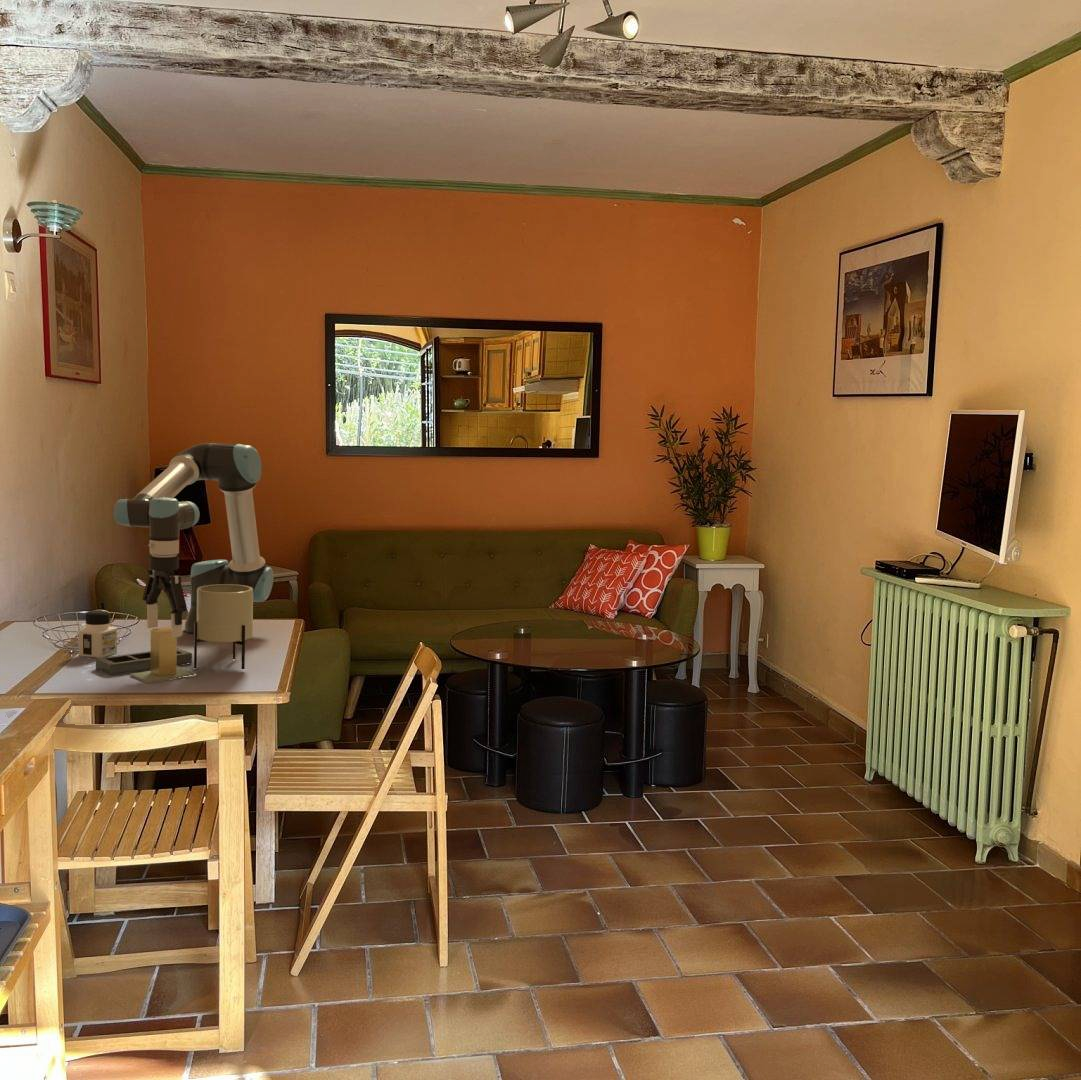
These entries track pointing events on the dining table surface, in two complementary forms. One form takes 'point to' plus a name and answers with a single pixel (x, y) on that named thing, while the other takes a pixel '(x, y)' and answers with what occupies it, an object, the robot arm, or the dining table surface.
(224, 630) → the planter
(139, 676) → the mat
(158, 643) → the wooden block
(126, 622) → the dining table surface
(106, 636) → the container
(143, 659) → the grey compartment tray
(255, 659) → the dining table surface
